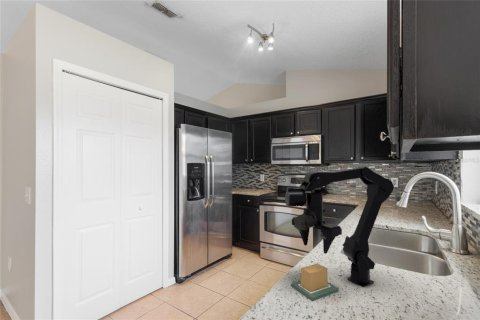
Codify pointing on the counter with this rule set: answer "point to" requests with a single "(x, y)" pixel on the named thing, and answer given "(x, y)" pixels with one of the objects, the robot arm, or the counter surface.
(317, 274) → the block
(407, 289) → the counter surface
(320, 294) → the board
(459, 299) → the counter surface
